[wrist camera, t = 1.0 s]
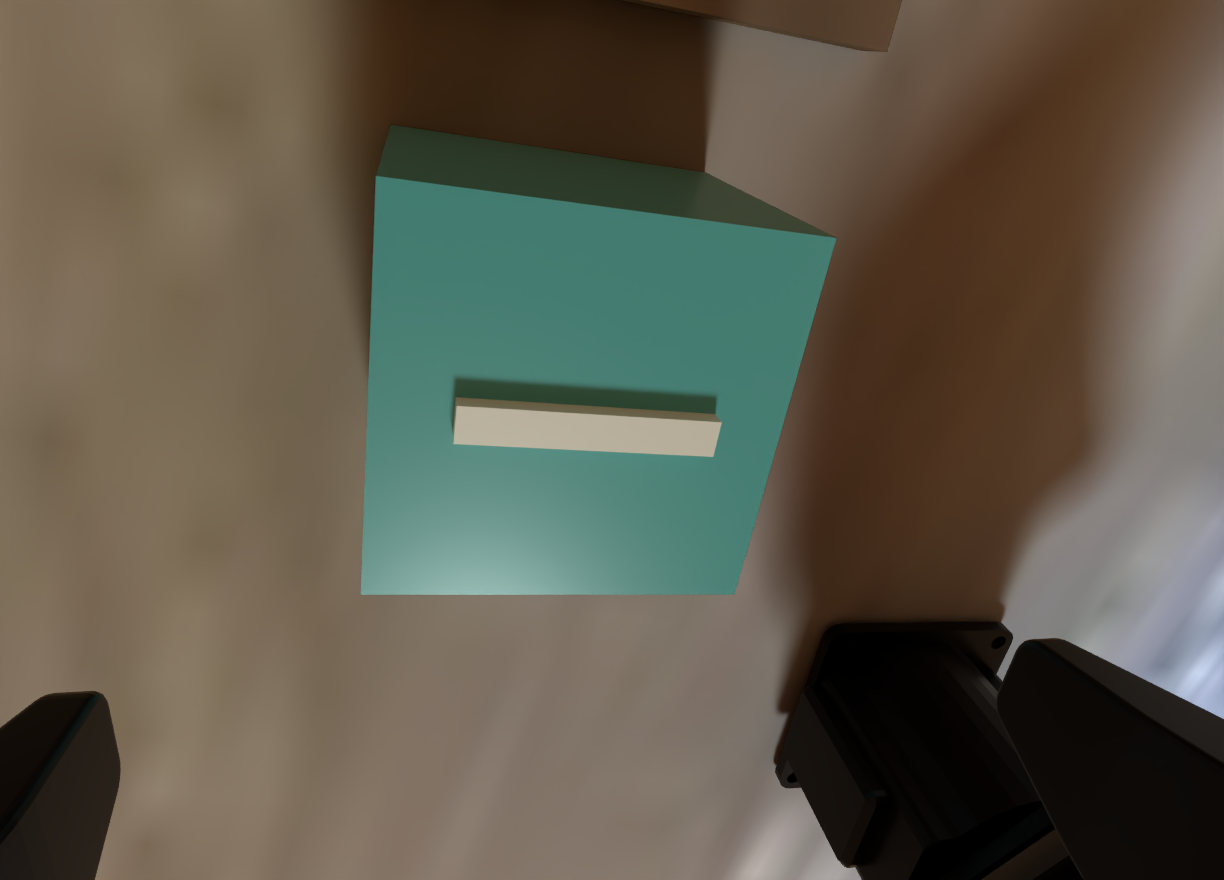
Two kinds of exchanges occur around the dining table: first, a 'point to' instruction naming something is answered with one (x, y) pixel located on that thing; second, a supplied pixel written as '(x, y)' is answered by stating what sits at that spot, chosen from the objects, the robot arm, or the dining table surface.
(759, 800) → the dining table surface
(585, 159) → the teal drawer cube
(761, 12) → the keyed post base
